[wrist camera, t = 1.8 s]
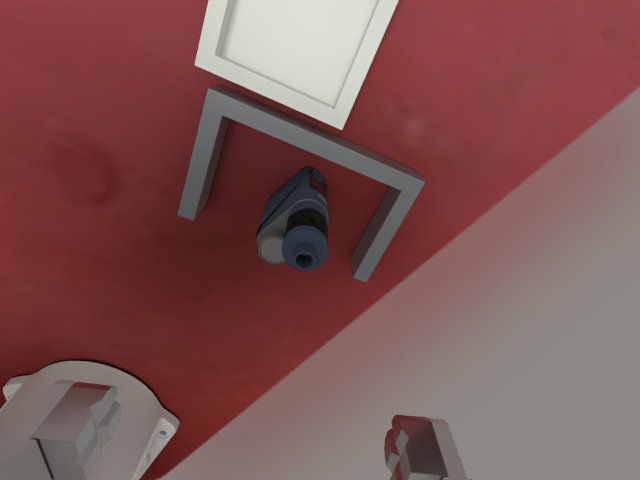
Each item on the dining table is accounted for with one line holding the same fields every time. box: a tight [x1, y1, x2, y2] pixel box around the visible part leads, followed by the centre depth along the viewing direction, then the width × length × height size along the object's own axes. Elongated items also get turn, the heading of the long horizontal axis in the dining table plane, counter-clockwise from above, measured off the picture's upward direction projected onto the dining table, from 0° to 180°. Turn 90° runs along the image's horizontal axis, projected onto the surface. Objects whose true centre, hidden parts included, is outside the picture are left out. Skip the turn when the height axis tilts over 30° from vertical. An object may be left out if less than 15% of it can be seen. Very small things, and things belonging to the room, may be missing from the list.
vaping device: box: [256, 166, 329, 271], centre depth 22 cm, size 3×5×12 cm, turn 130°
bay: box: [178, 85, 425, 282], centre depth 25 cm, size 9×15×3 cm, turn 67°
